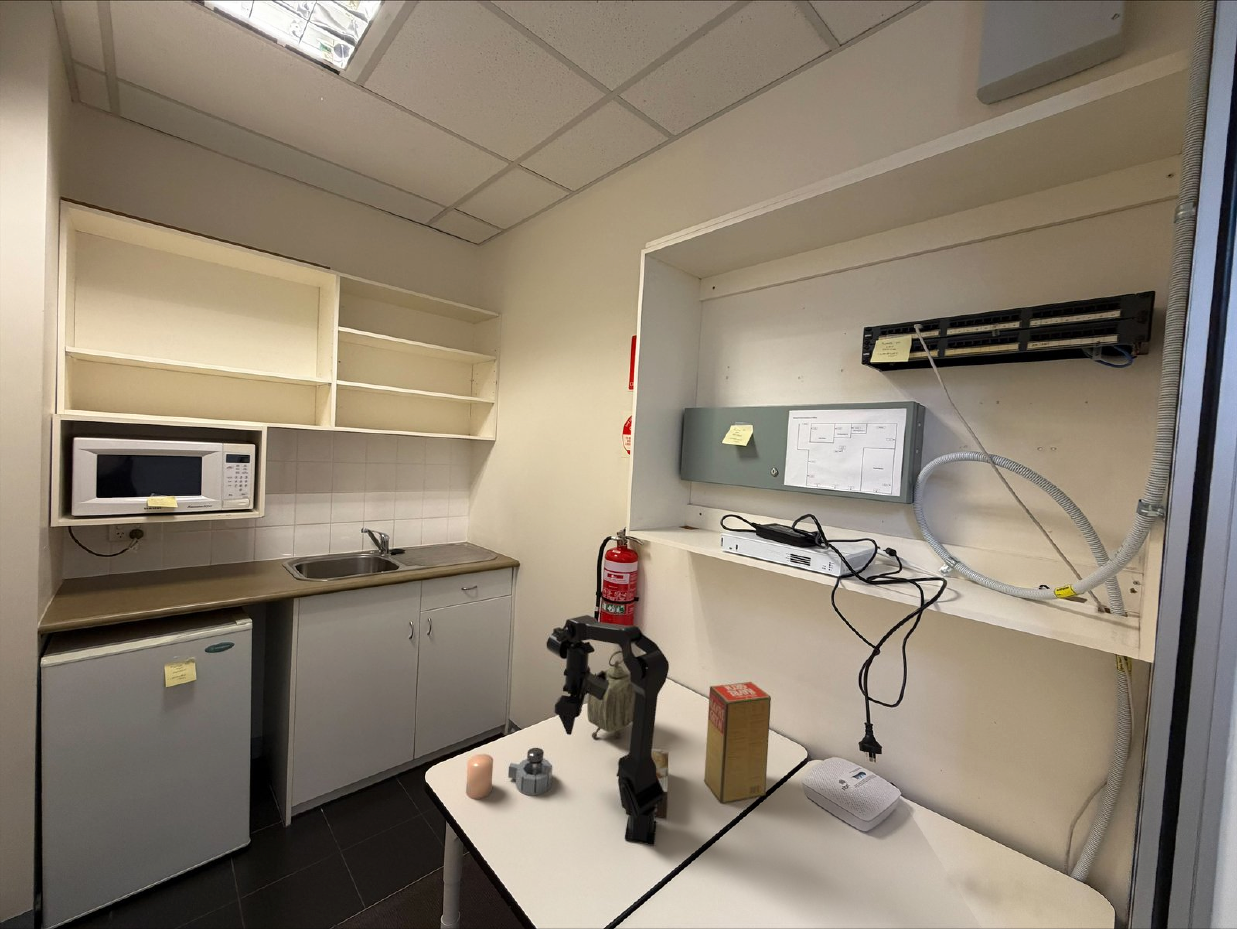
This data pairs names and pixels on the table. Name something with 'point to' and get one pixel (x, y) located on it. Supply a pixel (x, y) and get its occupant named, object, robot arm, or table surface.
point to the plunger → (535, 758)
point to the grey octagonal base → (531, 777)
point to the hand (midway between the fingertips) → (573, 724)
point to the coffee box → (661, 778)
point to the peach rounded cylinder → (479, 776)
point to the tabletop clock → (613, 702)
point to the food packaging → (737, 741)
